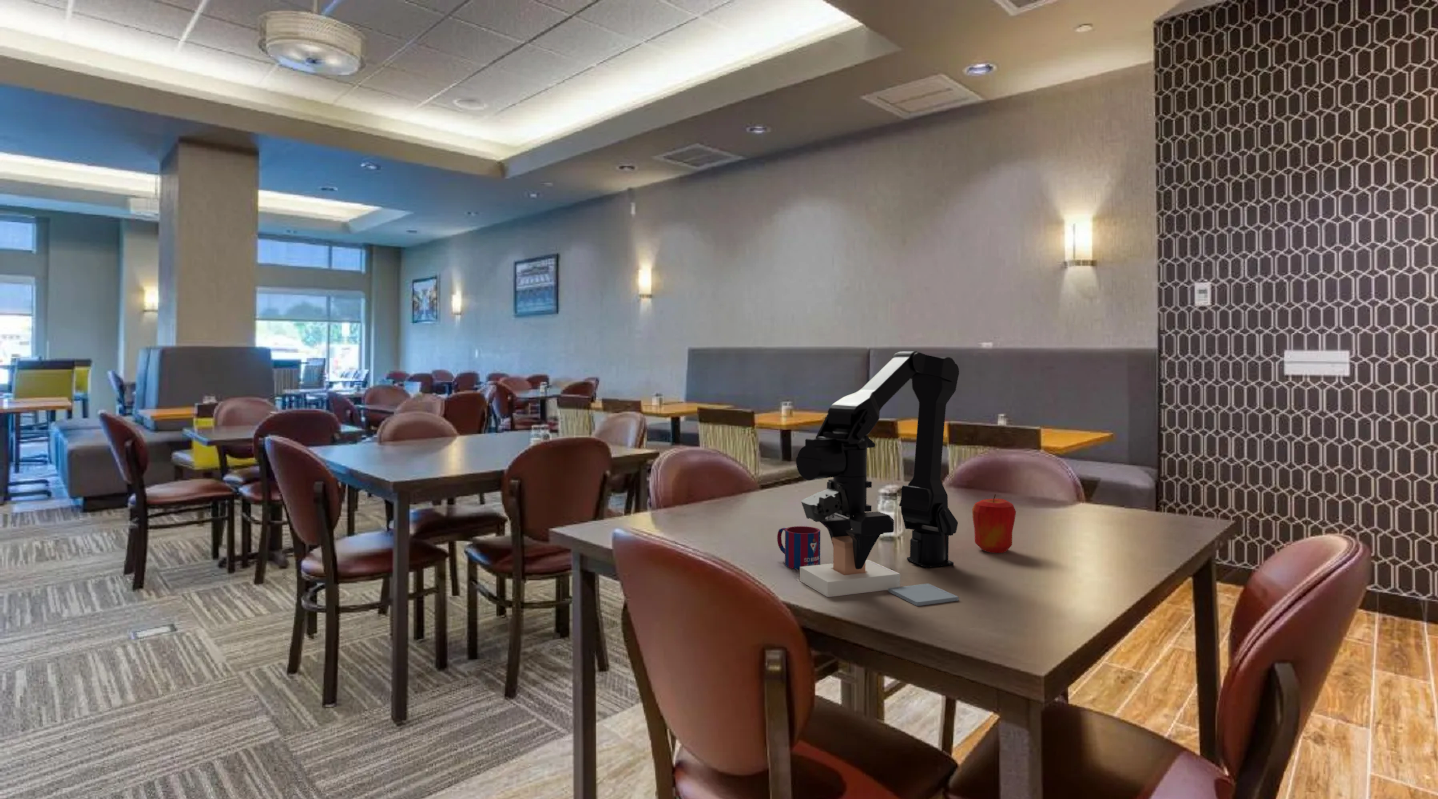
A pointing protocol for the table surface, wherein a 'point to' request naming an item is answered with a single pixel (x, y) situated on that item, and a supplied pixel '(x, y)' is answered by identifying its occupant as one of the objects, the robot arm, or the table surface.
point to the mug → (800, 546)
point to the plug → (844, 556)
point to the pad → (923, 594)
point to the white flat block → (849, 579)
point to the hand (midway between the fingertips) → (849, 564)
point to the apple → (993, 524)
